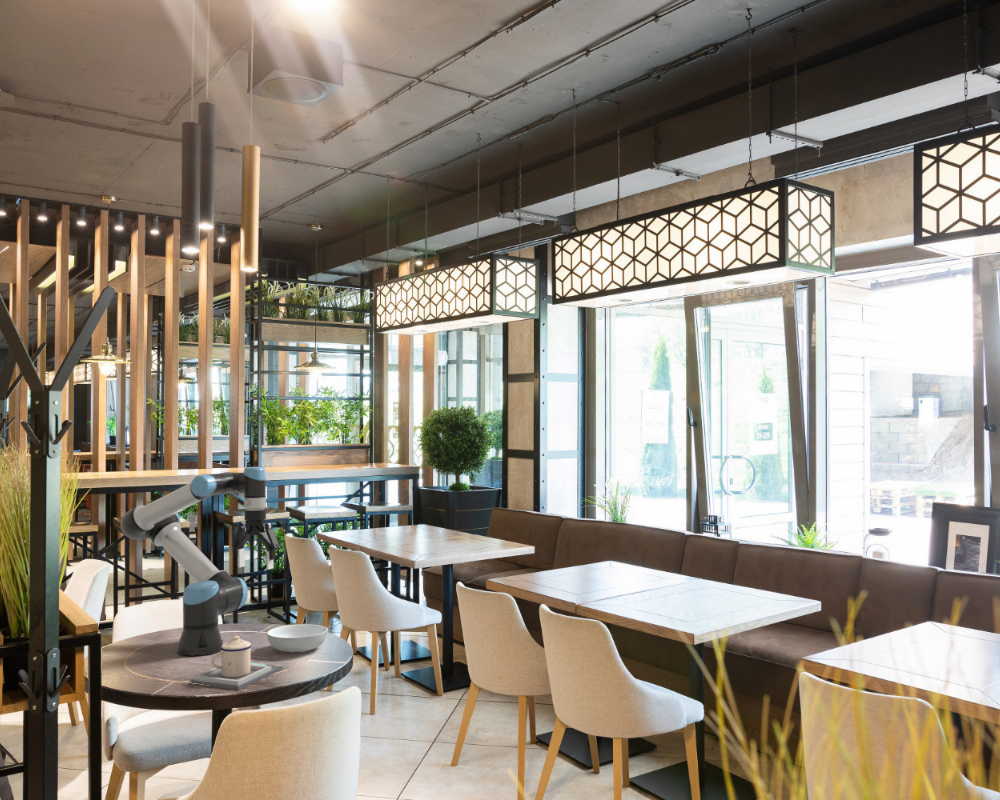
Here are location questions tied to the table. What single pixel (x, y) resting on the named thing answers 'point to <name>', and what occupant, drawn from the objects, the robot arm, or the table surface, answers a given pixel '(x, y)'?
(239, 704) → the table surface
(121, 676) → the table surface
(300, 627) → the serving bowl
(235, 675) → the teacup with lid
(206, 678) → the base
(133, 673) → the table surface
